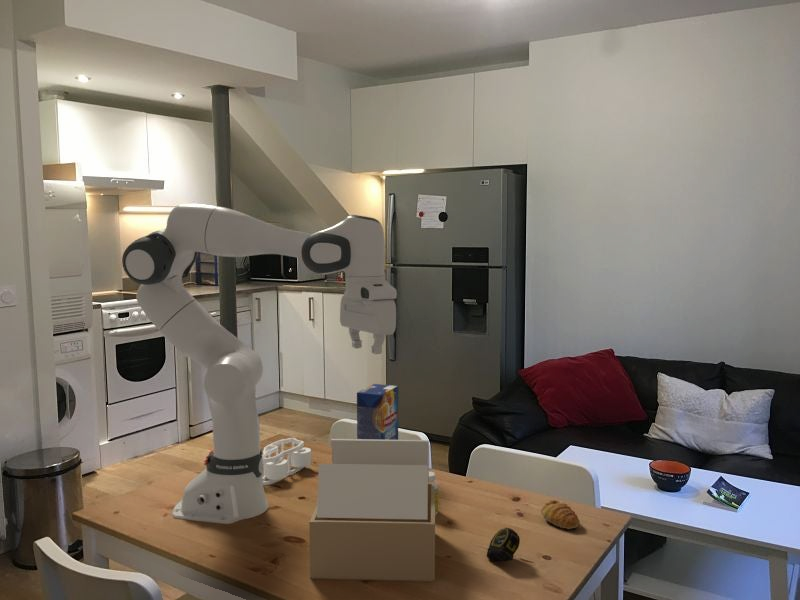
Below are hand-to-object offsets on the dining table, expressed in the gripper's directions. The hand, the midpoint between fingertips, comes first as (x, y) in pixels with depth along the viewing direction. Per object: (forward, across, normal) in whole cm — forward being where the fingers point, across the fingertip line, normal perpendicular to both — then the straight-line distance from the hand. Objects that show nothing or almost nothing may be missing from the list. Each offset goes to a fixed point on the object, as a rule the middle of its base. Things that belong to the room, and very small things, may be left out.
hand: (366, 350), depth 152 cm
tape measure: (+42, +29, +15) cm, 53 cm away
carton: (+41, +13, -5) cm, 43 cm away
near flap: (+28, +22, -11) cm, 37 cm away
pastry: (+42, +22, +37) cm, 60 cm away
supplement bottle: (+41, 0, +16) cm, 44 cm away
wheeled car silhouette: (+41, -44, -4) cm, 61 cm away
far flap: (+28, +5, 0) cm, 29 cm away
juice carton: (+41, -31, +19) cm, 55 cm away
